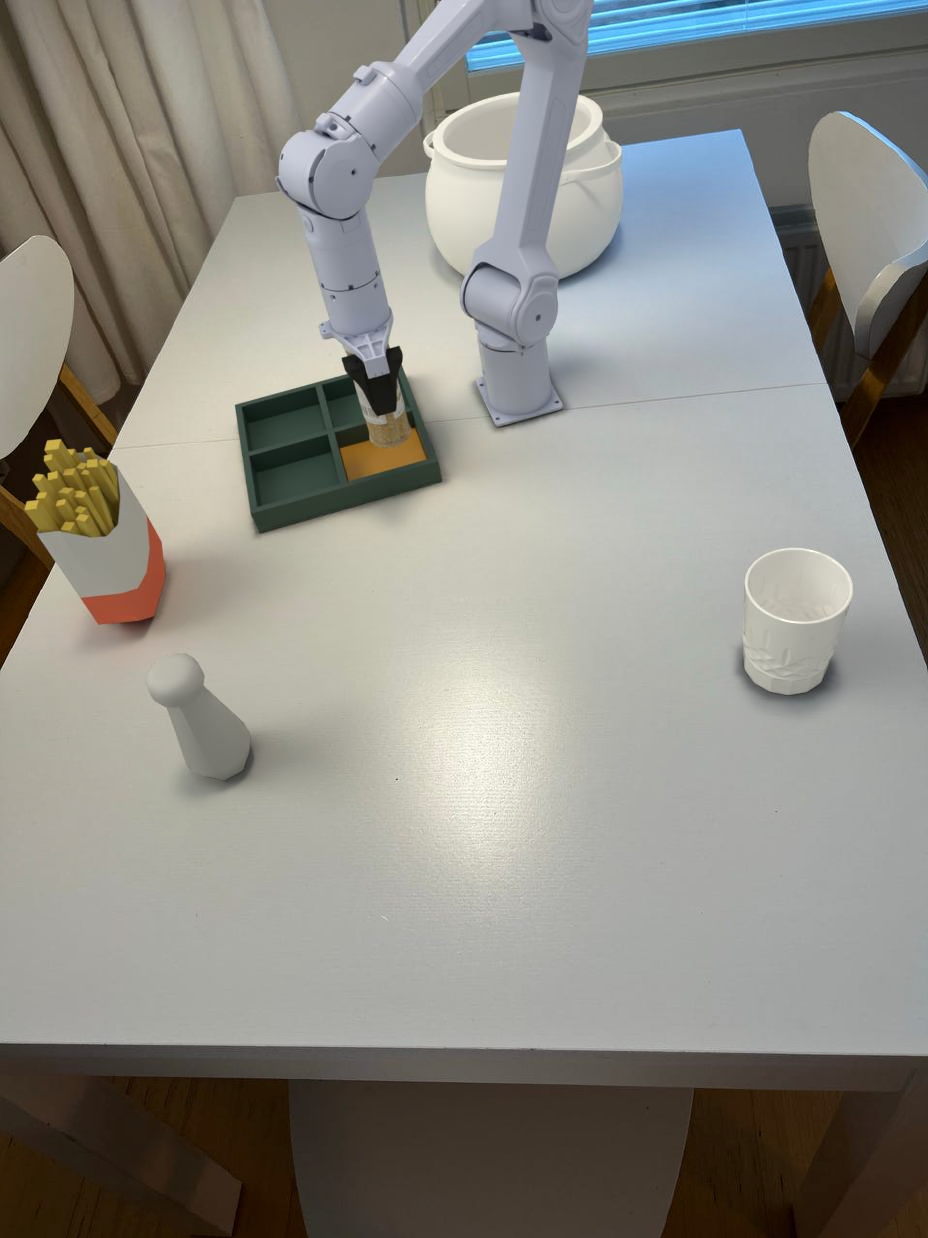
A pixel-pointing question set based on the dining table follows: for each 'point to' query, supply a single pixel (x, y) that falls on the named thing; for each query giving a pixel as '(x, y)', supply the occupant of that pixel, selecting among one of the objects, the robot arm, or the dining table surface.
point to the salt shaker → (199, 718)
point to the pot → (475, 175)
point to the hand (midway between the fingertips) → (381, 398)
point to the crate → (325, 453)
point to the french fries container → (98, 535)
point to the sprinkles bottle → (385, 420)
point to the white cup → (793, 618)
